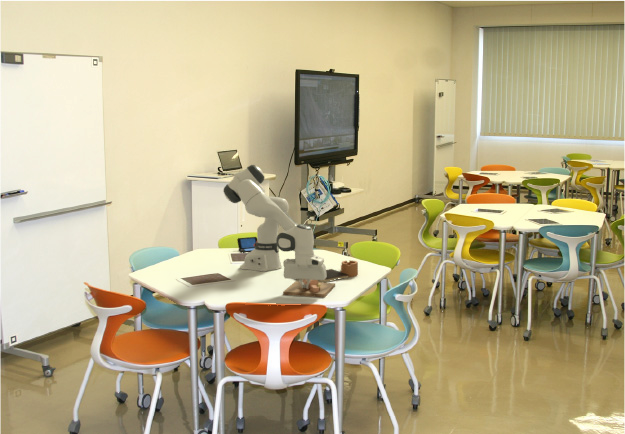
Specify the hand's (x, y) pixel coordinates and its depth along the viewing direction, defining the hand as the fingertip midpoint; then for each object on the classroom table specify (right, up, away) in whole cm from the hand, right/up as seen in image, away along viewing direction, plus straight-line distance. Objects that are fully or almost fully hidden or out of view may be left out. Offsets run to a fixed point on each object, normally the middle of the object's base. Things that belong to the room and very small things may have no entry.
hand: (305, 288), depth 331 cm
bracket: (+23, +4, +39) cm, 45 cm away
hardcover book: (+8, +2, +28) cm, 29 cm away
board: (+2, -2, +5) cm, 6 cm away
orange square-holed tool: (+3, 0, +3) cm, 4 cm away
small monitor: (-35, +13, +97) cm, 104 cm away
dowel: (+6, -1, 0) cm, 6 cm away
